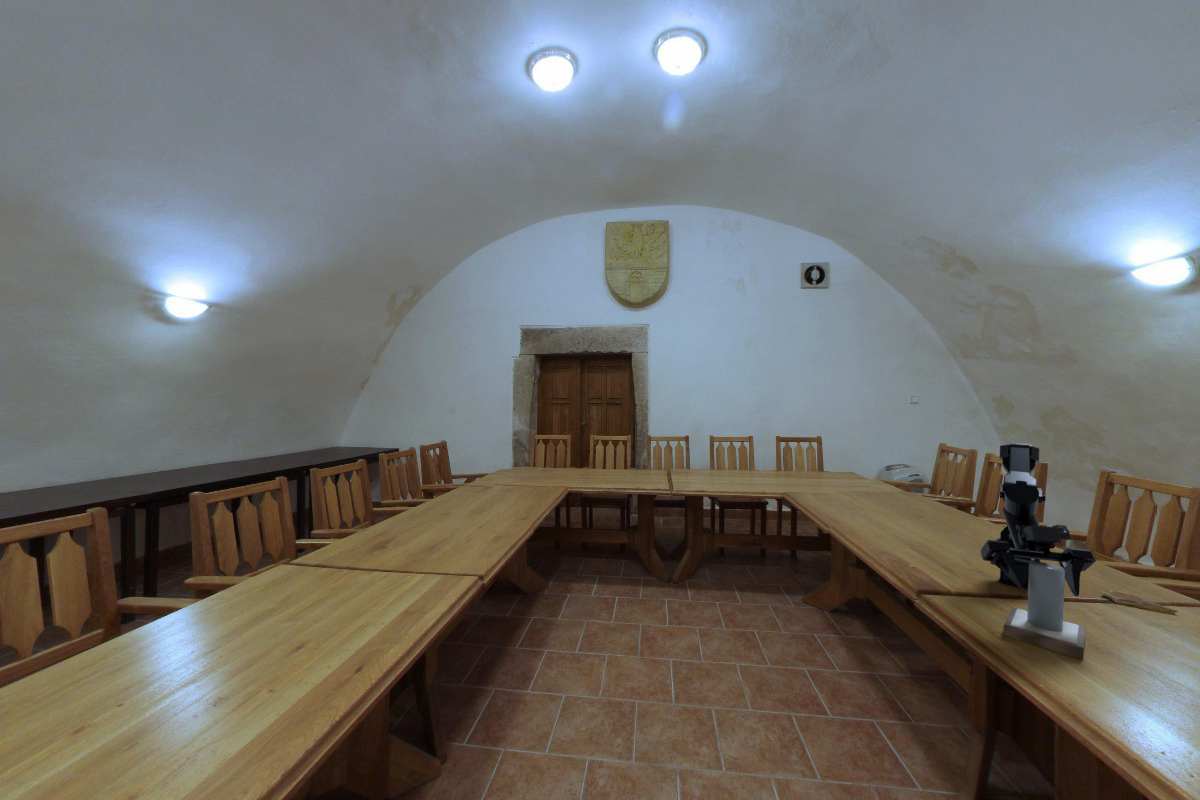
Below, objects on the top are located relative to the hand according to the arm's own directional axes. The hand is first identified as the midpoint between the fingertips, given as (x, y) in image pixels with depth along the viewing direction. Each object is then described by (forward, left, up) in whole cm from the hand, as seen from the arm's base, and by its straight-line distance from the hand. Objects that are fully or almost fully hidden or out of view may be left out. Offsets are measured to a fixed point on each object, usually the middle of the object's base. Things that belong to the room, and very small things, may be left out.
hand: (1049, 592), depth 98 cm
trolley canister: (-1, +1, -8) cm, 8 cm away
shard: (+13, +42, -11) cm, 45 cm away
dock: (-1, +1, -11) cm, 11 cm away
